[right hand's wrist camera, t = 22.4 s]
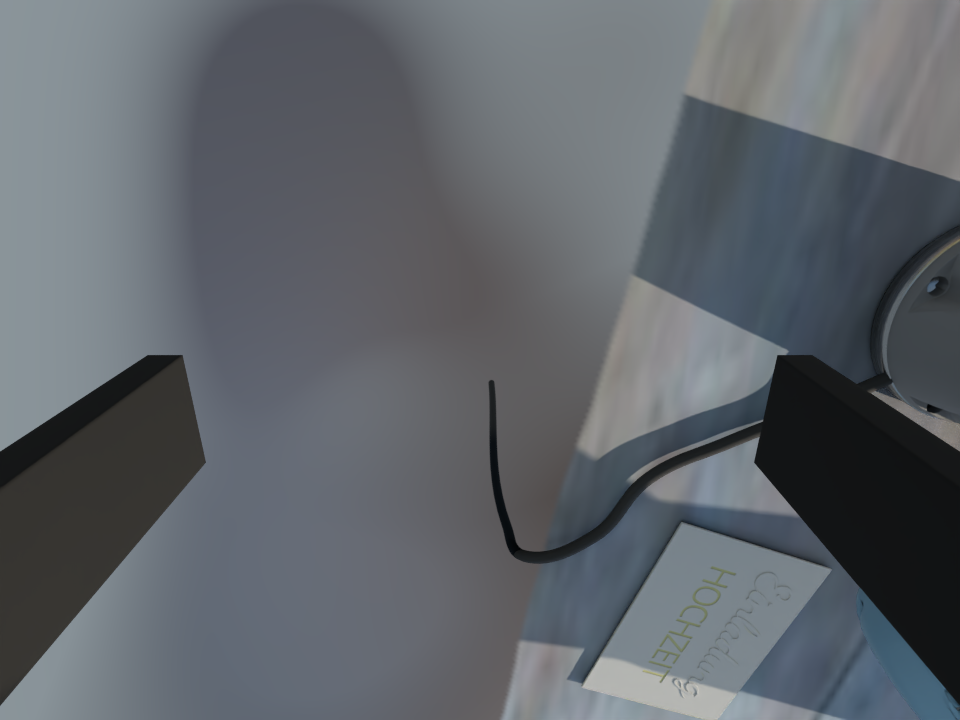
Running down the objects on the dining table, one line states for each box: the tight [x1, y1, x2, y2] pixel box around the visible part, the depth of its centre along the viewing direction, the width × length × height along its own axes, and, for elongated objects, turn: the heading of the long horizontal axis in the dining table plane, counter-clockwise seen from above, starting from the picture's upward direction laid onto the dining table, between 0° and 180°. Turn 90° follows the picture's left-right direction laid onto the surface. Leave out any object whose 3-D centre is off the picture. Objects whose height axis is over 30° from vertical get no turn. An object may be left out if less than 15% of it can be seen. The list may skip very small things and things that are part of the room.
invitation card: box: [581, 522, 832, 720], centre depth 52 cm, size 21×1×15 cm
